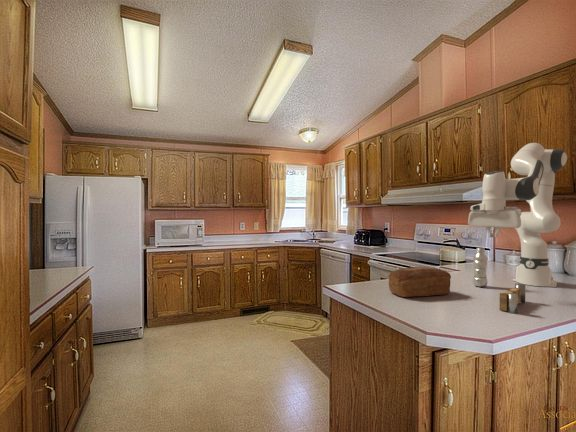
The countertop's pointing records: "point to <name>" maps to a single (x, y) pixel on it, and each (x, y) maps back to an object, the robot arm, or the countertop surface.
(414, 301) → the countertop surface
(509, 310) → the stop post
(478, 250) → the plastic bottle
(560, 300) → the countertop surface
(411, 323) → the countertop surface
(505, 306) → the gate
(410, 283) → the bread
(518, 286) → the pivot post
